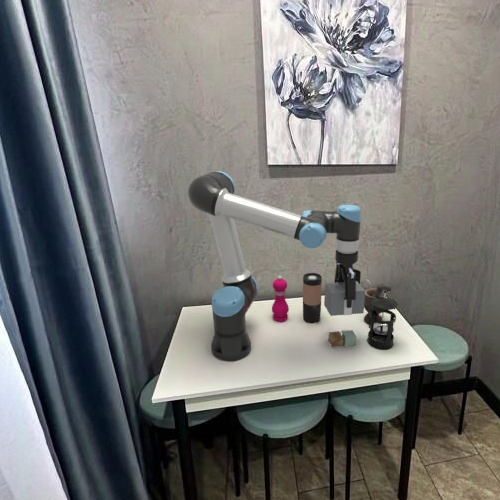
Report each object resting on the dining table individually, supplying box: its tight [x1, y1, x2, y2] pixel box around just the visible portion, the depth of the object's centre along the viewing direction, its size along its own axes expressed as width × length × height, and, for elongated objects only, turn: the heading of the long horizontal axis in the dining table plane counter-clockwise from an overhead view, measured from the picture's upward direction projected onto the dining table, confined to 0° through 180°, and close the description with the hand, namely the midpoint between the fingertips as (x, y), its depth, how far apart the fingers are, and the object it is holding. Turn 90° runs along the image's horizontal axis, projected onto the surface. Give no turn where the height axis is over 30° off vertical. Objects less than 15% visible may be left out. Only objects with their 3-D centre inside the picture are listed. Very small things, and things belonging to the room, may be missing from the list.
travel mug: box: [302, 272, 323, 324], centre depth 148 cm, size 8×8×20 cm
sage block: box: [341, 329, 357, 347], centre depth 135 cm, size 4×4×4 cm
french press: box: [366, 285, 398, 351], centre depth 131 cm, size 12×9×23 cm
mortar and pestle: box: [363, 283, 387, 324], centre depth 144 cm, size 12×9×20 cm
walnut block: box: [328, 331, 343, 348], centre depth 134 cm, size 4×4×4 cm
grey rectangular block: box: [323, 281, 366, 317], centre depth 129 cm, size 12×8×9 cm, turn 95°
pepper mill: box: [271, 275, 290, 323], centre depth 150 cm, size 7×7×20 cm
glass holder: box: [353, 268, 372, 289], centre depth 160 cm, size 9×14×15 cm, turn 40°
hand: (343, 308), depth 130 cm, fingers closed on grey rectangular block, 8 cm apart
